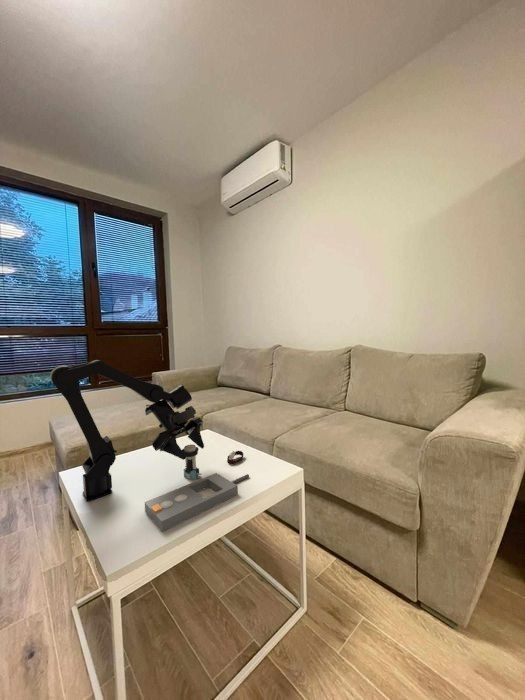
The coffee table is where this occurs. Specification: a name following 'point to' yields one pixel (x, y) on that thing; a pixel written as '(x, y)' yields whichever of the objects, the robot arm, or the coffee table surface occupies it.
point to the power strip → (189, 500)
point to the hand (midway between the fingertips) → (194, 453)
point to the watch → (233, 456)
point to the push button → (191, 462)
